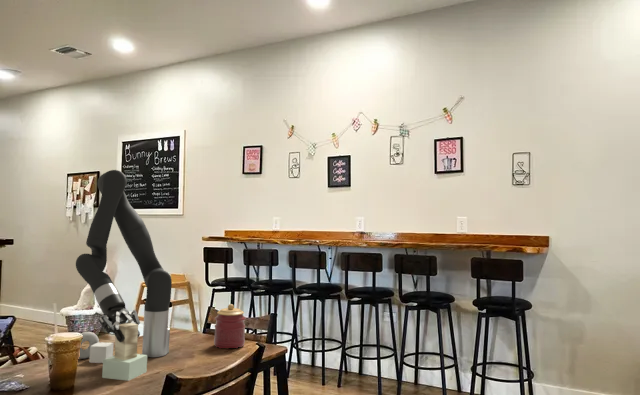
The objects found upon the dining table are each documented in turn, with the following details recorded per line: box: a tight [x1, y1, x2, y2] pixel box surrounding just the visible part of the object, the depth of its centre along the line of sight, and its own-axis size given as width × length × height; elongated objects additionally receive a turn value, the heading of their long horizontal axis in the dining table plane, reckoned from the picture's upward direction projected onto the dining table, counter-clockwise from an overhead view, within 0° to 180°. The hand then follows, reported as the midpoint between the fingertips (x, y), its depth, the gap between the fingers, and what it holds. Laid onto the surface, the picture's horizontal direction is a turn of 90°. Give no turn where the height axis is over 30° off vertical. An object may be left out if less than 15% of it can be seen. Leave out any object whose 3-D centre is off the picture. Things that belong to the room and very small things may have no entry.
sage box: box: [101, 353, 148, 382], centre depth 163 cm, size 10×10×6 cm
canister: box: [213, 303, 247, 349], centre depth 206 cm, size 13×13×18 cm
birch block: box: [114, 323, 139, 360], centre depth 163 cm, size 5×5×11 cm
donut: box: [78, 331, 100, 360], centre depth 180 cm, size 10×4×10 cm, turn 138°
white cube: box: [88, 341, 115, 364], centre depth 178 cm, size 6×6×6 cm
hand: (130, 338), depth 162 cm, fingers open, 5 cm apart
